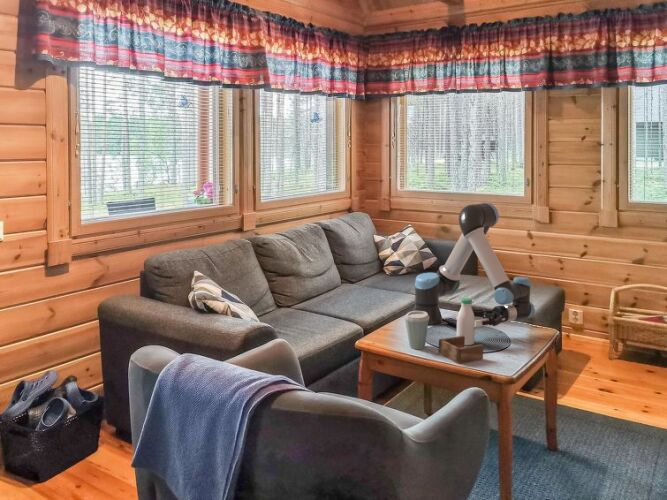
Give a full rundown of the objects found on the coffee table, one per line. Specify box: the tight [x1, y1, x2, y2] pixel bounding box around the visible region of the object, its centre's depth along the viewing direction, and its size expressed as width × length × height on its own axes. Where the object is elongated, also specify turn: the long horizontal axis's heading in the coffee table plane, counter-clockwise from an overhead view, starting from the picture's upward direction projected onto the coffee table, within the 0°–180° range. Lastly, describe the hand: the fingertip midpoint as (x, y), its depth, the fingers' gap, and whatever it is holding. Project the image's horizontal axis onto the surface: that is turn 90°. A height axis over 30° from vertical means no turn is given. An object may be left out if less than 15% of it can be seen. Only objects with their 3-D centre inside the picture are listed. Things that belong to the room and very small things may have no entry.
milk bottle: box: [456, 297, 476, 346], centre depth 262 cm, size 8×8×20 cm
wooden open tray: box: [438, 335, 484, 365], centre depth 247 cm, size 14×12×6 cm
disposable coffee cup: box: [404, 310, 429, 350], centre depth 258 cm, size 11×11×15 cm
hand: (465, 319), depth 261 cm, fingers open, 13 cm apart
